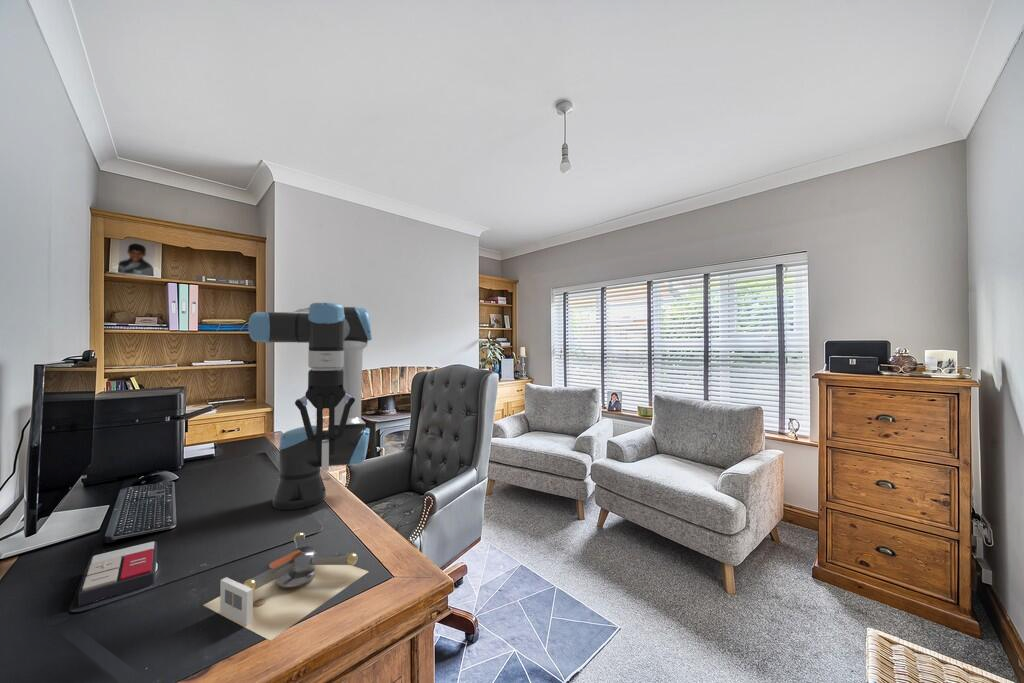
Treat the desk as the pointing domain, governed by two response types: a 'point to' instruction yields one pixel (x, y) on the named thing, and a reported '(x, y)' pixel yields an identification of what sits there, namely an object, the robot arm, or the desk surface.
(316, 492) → the robot arm
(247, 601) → the panel
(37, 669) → the desk surface
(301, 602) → the stand base
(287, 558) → the capstan
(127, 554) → the grey and red box
